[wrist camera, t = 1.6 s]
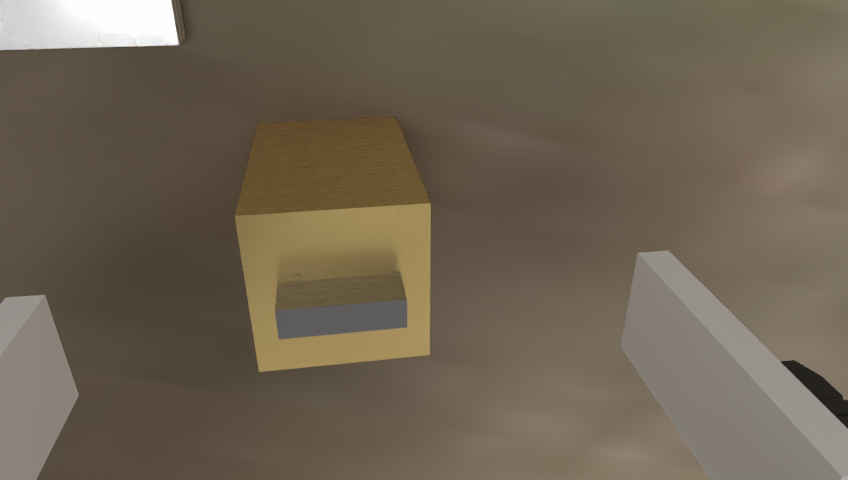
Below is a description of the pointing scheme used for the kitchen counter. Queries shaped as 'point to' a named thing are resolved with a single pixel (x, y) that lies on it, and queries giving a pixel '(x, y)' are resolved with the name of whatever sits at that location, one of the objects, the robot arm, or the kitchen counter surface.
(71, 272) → the kitchen counter surface
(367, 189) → the tan rectangular block
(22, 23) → the white slotted rack
